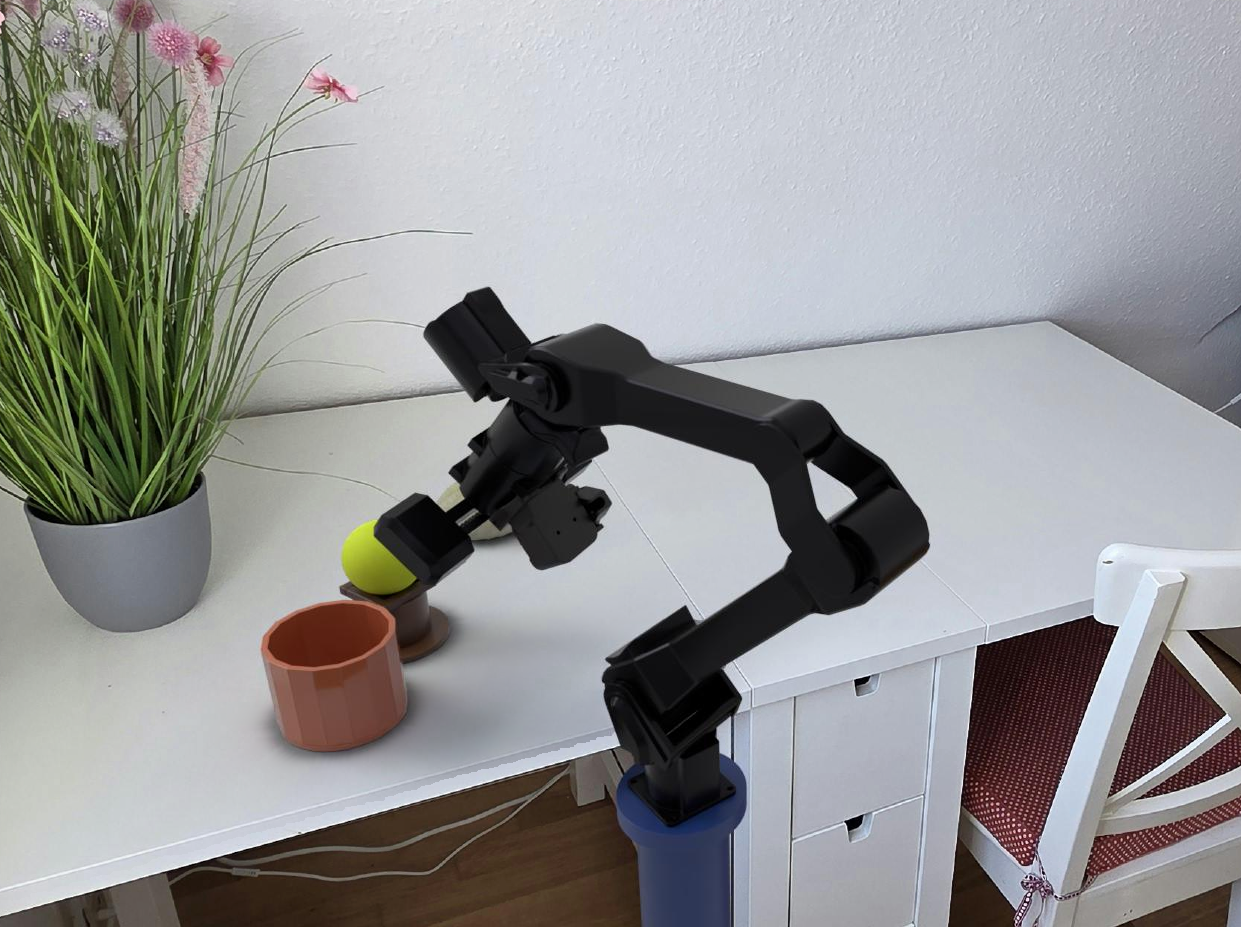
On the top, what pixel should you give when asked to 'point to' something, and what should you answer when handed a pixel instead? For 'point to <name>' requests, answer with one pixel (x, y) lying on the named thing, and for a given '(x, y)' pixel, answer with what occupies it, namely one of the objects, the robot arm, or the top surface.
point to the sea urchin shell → (484, 531)
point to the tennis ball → (373, 563)
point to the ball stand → (409, 618)
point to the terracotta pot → (335, 674)
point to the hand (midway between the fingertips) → (453, 540)
